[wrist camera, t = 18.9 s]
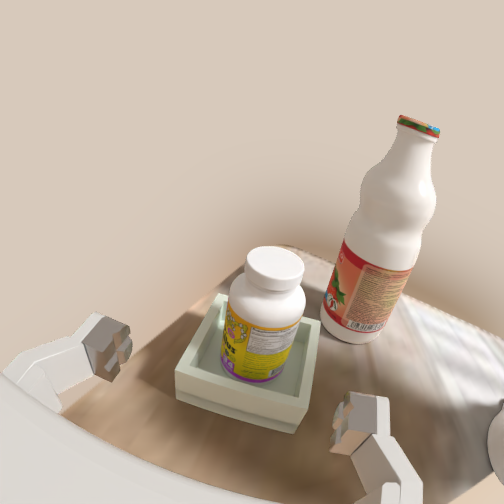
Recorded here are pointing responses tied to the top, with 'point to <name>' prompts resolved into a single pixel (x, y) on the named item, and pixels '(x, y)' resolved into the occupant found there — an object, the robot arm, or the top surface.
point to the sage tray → (240, 394)
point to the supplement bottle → (262, 315)
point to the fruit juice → (382, 237)
